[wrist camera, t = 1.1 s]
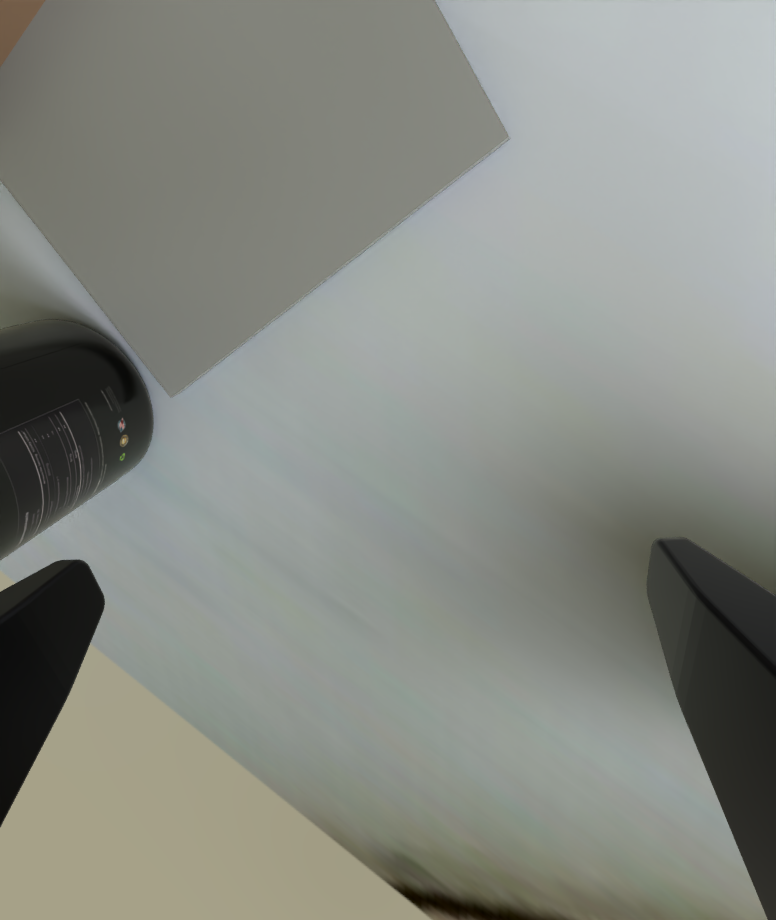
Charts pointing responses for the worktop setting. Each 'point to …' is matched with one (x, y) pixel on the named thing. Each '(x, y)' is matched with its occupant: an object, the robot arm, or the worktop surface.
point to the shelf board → (227, 151)
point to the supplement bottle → (63, 423)
